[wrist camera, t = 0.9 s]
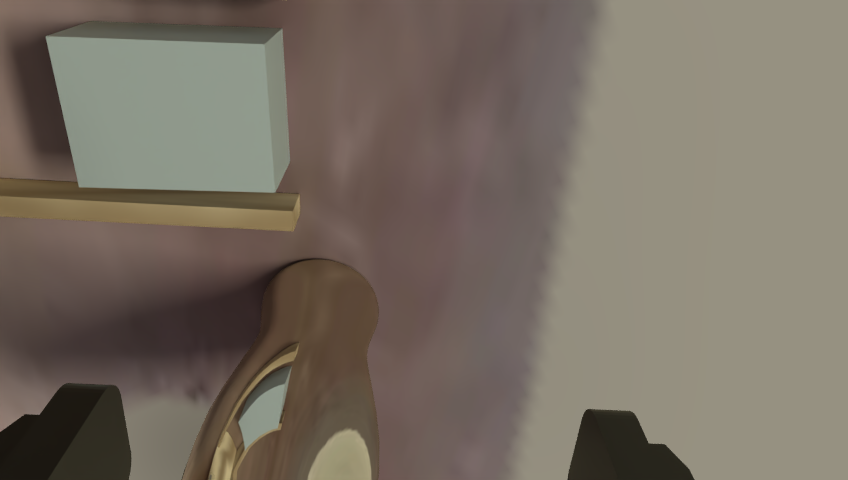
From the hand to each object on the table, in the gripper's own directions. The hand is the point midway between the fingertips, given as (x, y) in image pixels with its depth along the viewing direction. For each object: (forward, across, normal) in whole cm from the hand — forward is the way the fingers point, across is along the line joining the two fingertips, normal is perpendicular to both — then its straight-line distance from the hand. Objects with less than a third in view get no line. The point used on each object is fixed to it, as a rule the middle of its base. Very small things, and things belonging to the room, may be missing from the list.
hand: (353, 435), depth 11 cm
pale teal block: (+20, +9, 0) cm, 22 cm away
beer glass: (+20, +3, +11) cm, 23 cm away
